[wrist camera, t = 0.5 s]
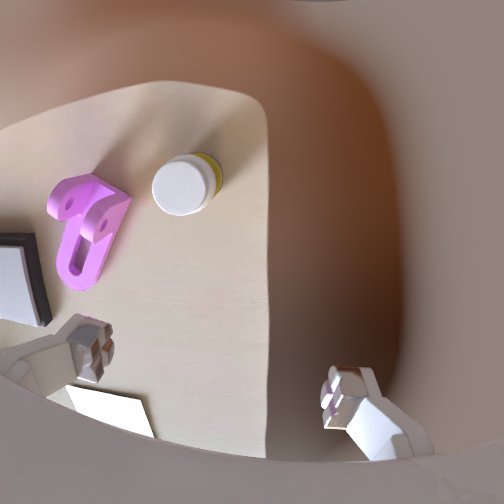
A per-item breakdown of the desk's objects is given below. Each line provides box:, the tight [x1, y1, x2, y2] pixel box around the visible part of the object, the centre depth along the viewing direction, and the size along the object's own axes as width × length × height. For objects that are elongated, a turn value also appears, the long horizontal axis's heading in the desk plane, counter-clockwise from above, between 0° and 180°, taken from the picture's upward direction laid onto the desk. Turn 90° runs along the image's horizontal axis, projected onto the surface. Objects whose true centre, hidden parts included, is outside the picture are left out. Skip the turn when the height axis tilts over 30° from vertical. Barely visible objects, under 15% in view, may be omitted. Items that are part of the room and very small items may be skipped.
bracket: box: [47, 173, 133, 291], centre depth 28 cm, size 13×6×7 cm, turn 149°
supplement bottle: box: [152, 153, 223, 216], centre depth 25 cm, size 5×5×8 cm
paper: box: [66, 385, 154, 438], centre depth 42 cm, size 25×17×1 cm
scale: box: [0, 233, 53, 327], centre depth 31 cm, size 12×12×3 cm
